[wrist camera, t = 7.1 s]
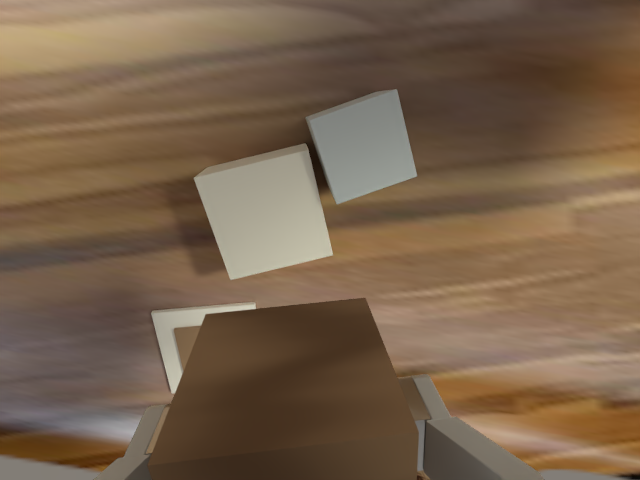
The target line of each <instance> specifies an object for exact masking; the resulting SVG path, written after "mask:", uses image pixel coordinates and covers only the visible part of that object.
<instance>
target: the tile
mask: <svg viewBox="0 0 640 480" xmlns="http://www.w3.org/2000/svg"><path fill="white" fill-rule="evenodd" d="M250 309H256V304H255V302H246V303H235V304H223V305H212V306H200V307H188V308H177V309H165V310H153V311H152V313H151V315H152V318H153V322H154V326H155V330H156V334H157V338H158V342H159V346H160V350H161V353H162V357H163V361H164V365H165V369H166V373H167V377H168V381H169V385H170V388H171V392H172V393H175V392H176V390H177V387H178V384H179V382H180V379H181V377H182V374H183V371H184V369H185V366H186V364H187V361H188V358H189V356H190V353H191V351H192V348H193V345H194V343H195V340H196V338H197V335H198V333H199V330H200V327H201V325H202V322H203V320H204V317H205V314H211V313H221V312H231V311H241V310H250Z"/></svg>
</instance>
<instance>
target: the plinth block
mask: <svg viewBox="0 0 640 480" xmlns="http://www.w3.org/2000/svg"><path fill="white" fill-rule="evenodd" d="M194 180H195V183H196V186H197V189H198V191H199V194H200V197H201V200H202V203H203V205H204V208H205V211H206V214H207V216H208V219H209V222H210V225H211V227H212V230H213V233H214V236H215V238H216V241H217V244H218V247H219V250H220V252H221V255H222V258H223V261H224V263H225V266H226V269H227V272H228V274H229V277H230V280H233V279H237V278H241V277H245V276H249V275H253V274H258V273H262V272H266V271H270V270H274V269H278V268H282V267H286V266H291V265H295V264H299V263H303V262H307V261H311V260H315V259H320V258H324V257H328V256H332V255H333V252H332V248H331V244H330V240H329V235H328V231H327V227H326V223H325V218H324V214H323V210H322V205H321V201H320V197H319V193H318V188H317V184H316V180H315V176H314V171H313V167H312V163H311V159H310V154H309V150H308V147H307V145H306V143H304V144H300V145H296V146H292V147H288V148H284V149H280V150H276V151H271V152H267V153H263V154H259V155H255V156H251V157H247V158H243V159H239V160H235V161H231V162H226V163H222V164H218V165H214V166H210V167H207V168H205V169H204V170H203V171H202V172H200V173H199V174H198V175H197V176H195V177H194Z"/></svg>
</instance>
